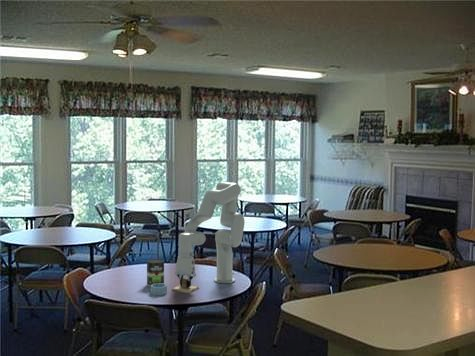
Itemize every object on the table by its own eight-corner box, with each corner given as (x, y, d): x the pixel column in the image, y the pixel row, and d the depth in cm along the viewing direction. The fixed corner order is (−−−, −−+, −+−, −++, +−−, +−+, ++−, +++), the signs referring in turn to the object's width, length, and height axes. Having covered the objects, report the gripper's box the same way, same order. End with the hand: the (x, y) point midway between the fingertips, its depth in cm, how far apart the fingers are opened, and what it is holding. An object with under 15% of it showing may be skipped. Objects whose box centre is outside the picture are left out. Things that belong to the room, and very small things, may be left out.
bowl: (156, 290, 322) (156, 282, 321) (170, 292, 318) (170, 284, 317) (147, 294, 313) (147, 286, 313) (161, 296, 310) (161, 288, 309)
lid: (181, 286, 329) (181, 275, 329) (198, 288, 325) (198, 277, 324) (172, 290, 320) (172, 279, 319) (189, 293, 315) (189, 282, 314)
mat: (181, 286, 330) (181, 285, 330) (199, 288, 325) (199, 288, 325) (170, 291, 319) (170, 290, 319) (189, 294, 314) (189, 293, 314)
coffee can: (165, 286, 331) (165, 262, 330) (147, 287, 328) (147, 263, 327) (163, 281, 340) (163, 258, 339) (145, 282, 338) (145, 259, 337)
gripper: (201, 255, 321) (201, 286, 322) (176, 252, 328) (176, 283, 329) (194, 257, 314) (194, 290, 315) (169, 254, 321) (169, 286, 322)
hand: (185, 286), depth 322 cm, fingers open, 3 cm apart
